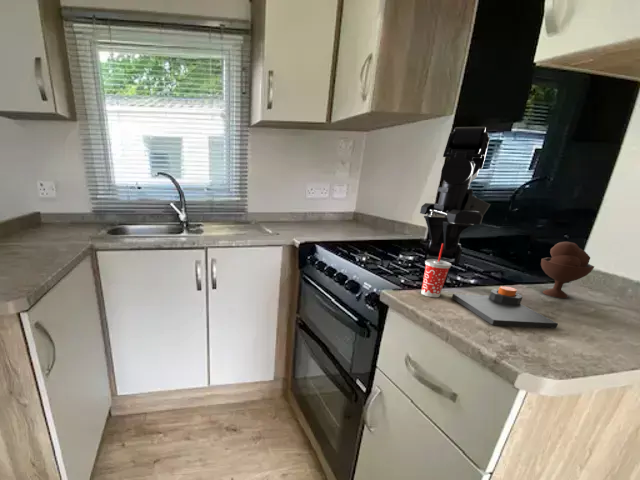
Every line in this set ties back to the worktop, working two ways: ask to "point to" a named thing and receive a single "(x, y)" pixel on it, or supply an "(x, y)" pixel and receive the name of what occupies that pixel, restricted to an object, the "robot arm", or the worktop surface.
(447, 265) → the beverage cup
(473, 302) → the scale
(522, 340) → the worktop surface
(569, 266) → the ice cream bowl
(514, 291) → the button
